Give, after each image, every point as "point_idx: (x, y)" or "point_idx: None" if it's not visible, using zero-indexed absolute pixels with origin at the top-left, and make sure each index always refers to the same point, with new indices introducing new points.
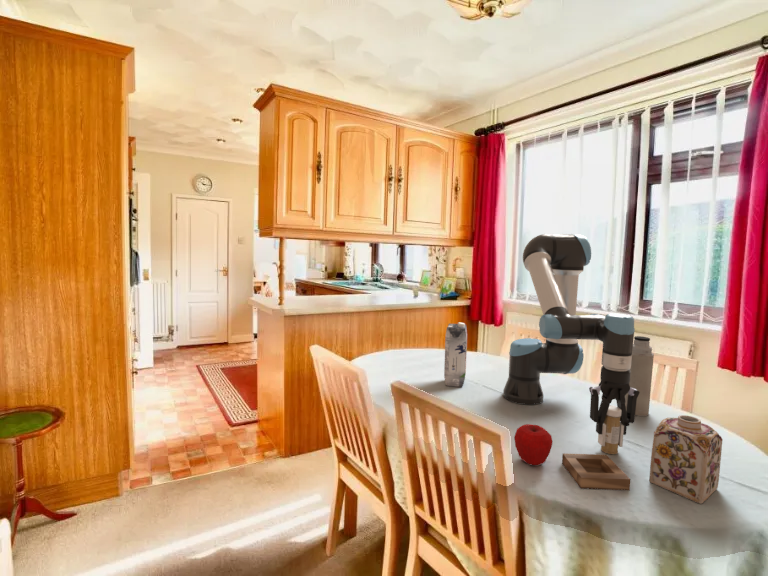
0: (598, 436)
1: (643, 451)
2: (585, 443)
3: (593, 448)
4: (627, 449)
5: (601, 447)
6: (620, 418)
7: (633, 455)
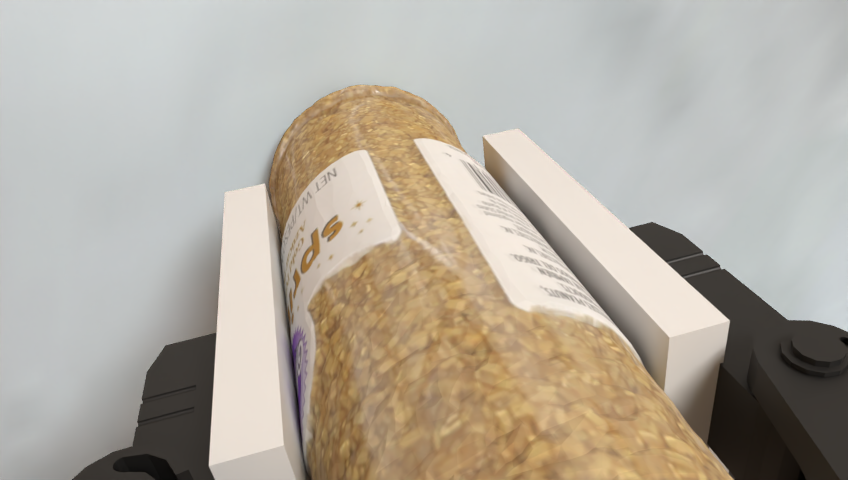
0: (225, 245)
1: (763, 66)
2: (63, 11)
3: (175, 152)
4: (611, 61)
5: (275, 189)
6: (799, 443)
7: (600, 196)
